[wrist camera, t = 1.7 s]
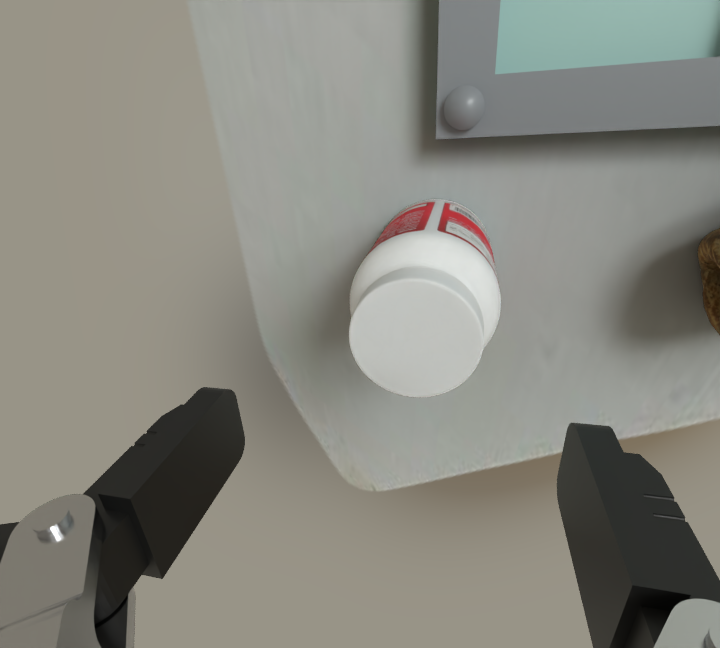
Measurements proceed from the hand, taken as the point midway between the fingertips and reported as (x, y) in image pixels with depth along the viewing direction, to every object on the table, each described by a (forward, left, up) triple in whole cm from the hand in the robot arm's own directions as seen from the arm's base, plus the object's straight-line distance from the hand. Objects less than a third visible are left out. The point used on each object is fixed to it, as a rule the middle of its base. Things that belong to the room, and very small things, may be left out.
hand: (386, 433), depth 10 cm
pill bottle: (0, 0, -16) cm, 16 cm away
